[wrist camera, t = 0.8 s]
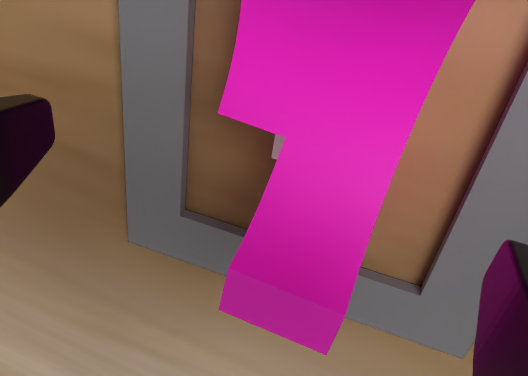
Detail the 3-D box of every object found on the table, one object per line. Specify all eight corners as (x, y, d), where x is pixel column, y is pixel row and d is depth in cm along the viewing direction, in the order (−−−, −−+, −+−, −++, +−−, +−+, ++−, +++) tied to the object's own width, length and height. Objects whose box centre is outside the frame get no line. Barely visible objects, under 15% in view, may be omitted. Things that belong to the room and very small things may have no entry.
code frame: (1082, -663, 8) (1121, -697, 7) (462, 349, 24) (462, 359, 23) (106, -636, 11) (91, -657, 11) (134, 234, 27) (128, 241, 27)
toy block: (322, -266, 13) (212, -373, 7) (552, -213, 12) (638, -286, 7) (233, 170, 22) (150, 281, 16) (363, 219, 21) (326, 355, 15)
